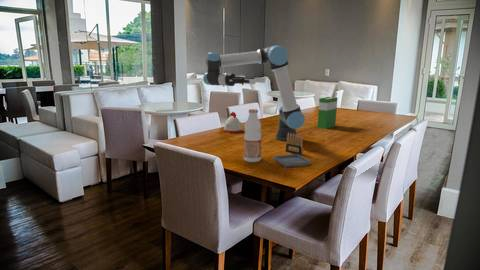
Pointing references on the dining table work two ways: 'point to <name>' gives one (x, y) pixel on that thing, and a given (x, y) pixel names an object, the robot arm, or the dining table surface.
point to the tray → (291, 160)
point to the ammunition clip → (294, 144)
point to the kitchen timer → (232, 124)
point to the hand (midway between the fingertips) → (260, 81)
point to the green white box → (327, 112)
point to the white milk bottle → (252, 138)
